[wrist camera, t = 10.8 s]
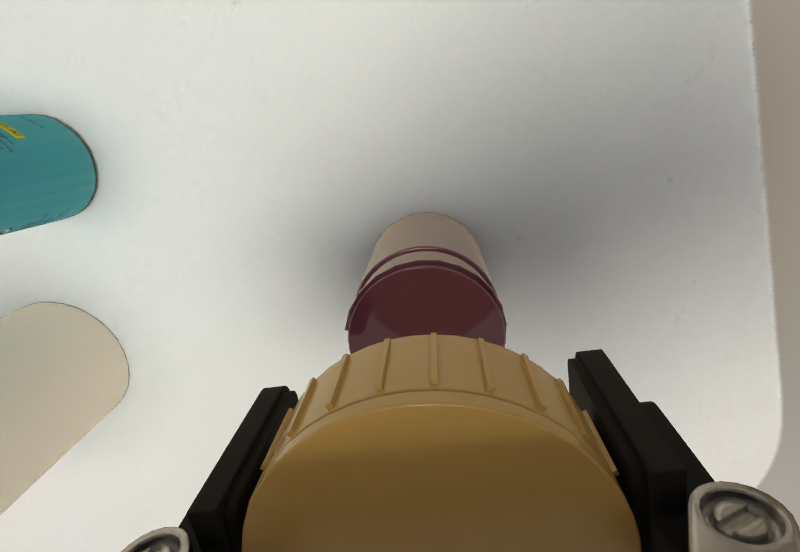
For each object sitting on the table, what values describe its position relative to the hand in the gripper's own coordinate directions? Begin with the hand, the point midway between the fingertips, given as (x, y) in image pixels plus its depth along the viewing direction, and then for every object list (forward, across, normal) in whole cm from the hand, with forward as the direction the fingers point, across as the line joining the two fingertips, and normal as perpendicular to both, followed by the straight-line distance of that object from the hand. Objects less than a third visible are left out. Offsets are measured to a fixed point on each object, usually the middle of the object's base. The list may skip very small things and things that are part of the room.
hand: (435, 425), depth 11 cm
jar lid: (-4, 0, 0) cm, 4 cm away
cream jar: (+13, 0, 0) cm, 13 cm away
